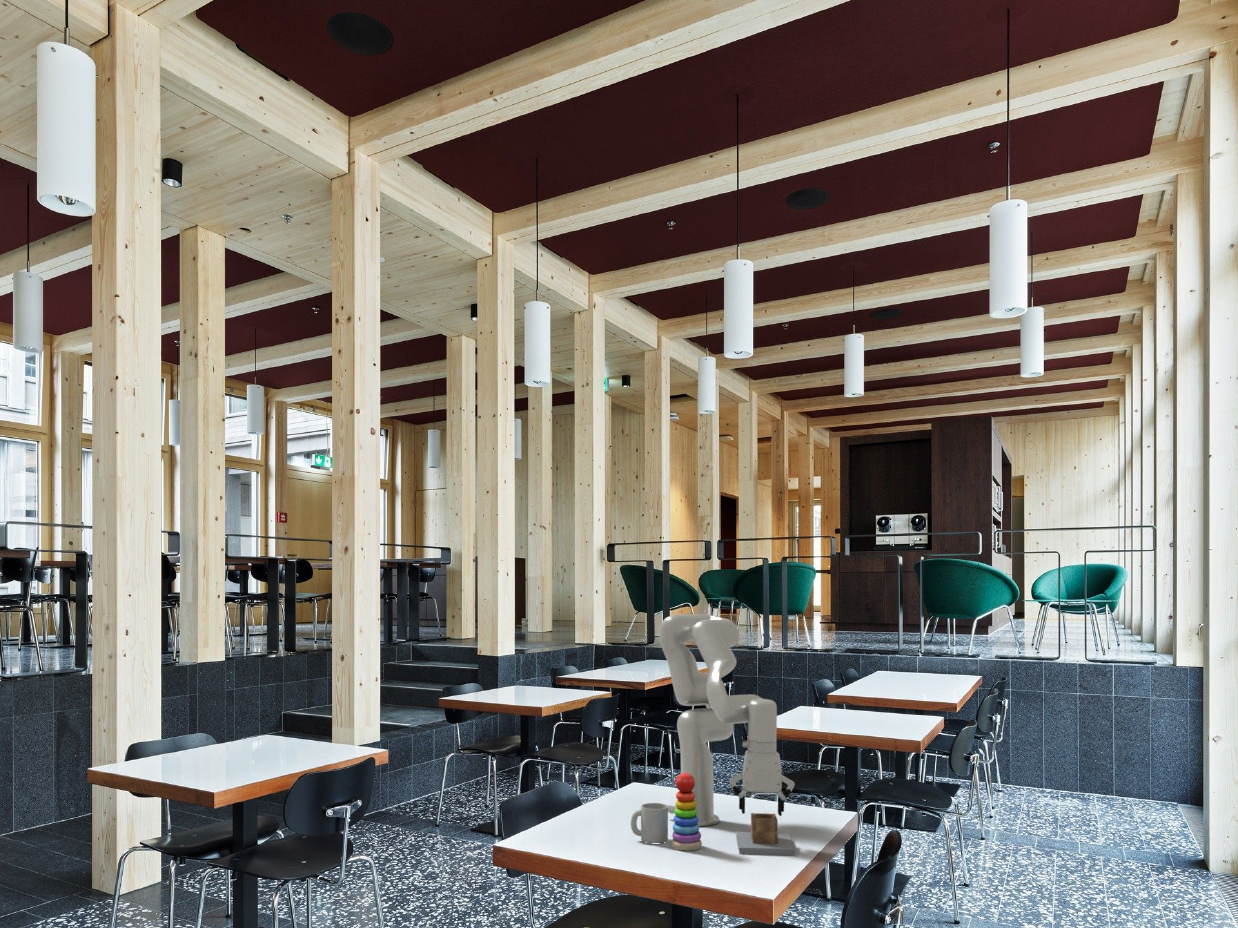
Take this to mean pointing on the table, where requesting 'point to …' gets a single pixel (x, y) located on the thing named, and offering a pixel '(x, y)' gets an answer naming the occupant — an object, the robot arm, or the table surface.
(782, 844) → the board
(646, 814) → the cup
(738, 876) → the table surface
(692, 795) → the stacking toy
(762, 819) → the wooden cube shelf
